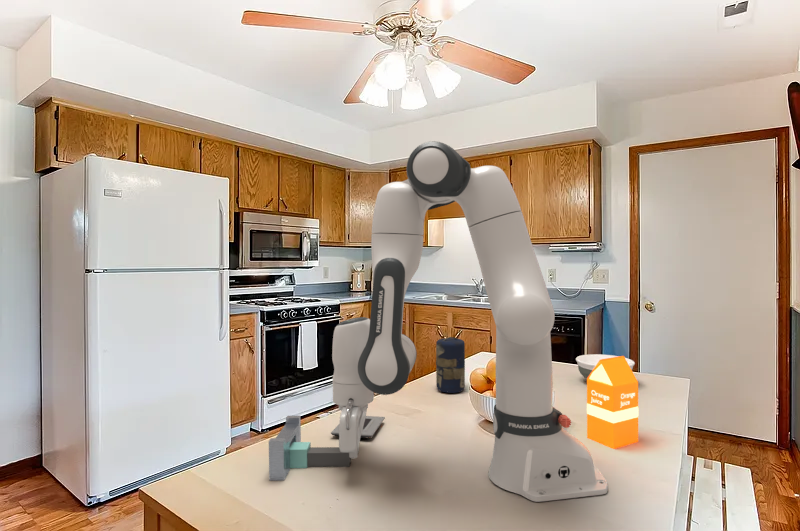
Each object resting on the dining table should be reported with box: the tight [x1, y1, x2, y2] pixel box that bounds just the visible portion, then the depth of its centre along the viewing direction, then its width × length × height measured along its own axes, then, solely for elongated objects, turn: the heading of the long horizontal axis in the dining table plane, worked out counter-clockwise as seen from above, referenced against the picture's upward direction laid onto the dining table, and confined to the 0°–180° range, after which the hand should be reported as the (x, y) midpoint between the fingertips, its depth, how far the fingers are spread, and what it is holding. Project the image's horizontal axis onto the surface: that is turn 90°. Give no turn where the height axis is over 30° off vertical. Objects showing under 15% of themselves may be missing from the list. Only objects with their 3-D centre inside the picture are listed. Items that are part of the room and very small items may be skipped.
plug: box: [290, 441, 352, 469], centre depth 101 cm, size 14×4×4 cm, turn 89°
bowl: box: [575, 353, 636, 380], centre depth 161 cm, size 19×19×8 cm
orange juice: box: [586, 355, 639, 450], centre depth 112 cm, size 8×9×20 cm
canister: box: [435, 336, 466, 394], centre depth 154 cm, size 10×10×18 cm
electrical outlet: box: [330, 415, 386, 439], centre depth 120 cm, size 13×10×2 cm
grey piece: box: [268, 415, 302, 481], centre depth 101 cm, size 3×15×8 cm, turn 179°
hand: (354, 455), depth 101 cm, fingers closed
